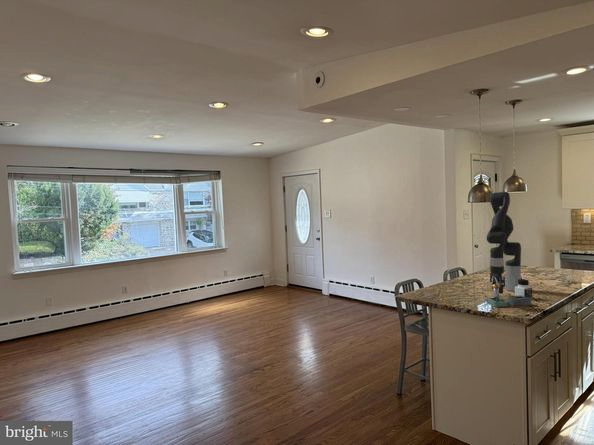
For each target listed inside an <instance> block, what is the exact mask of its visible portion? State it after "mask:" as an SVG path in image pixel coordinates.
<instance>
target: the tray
mask: <svg viewBox="0 0 594 445" xmlns="http://www.w3.org/2000/svg"><path fill="white" fill-rule="evenodd" d="M486 303H487V304H488V305H491V307H494V308H510V303H509V302H508V300H506V299H504V298H501V297H500V296H499V302H496V301H494V297H486Z"/></svg>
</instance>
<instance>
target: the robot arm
mask: <svg viewBox="0 0 594 445" xmlns="http://www.w3.org/2000/svg"><path fill="white" fill-rule="evenodd" d="M489 201H490V204H491V209H492V210H493V214H494V215H493V217H492V219H491V225H490V229H489V231H488V232H487V235H486V241H487V243H488V244H496V245H497V244H499V246H495V247H491V248H490V251H489V253H490V256H489V257H490V258H489V260H490V261H489V267H490V268H489V269H490V271H489V283H491V285H492V284H498V286H499V295H501V294H504V287H505V291H509V292H515V287H516V286H518V280H519V279H522V272H521V270H522V268H521V267H522V266H521V263H522V260H521V259H522V245H521V243H520V242H516V241H515V242H513V241H508V239H509V238H510V236H511V235H512V233H513V231H514V224H513V220H512V218H511V217H510V216H509V215H508V212H509V207H510V204H511V197H510V192H508V191H499V192H493V193H490V196H489ZM504 256H509V257H511V256H513V257H514V258H512V259H508V260H506V261H505V260H504ZM504 273H505V276H502V274H504ZM491 290H492V291H493V287H492V286H491Z"/></svg>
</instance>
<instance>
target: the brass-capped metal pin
mask: <svg viewBox="0 0 594 445" xmlns="http://www.w3.org/2000/svg"><path fill="white" fill-rule="evenodd" d="M492 287H493V290H492V291H493V292H492V293H493V296H492V298H494V301H496V302H499V297H500V293H499V286H498V284H497V283H496V284H491V288H492Z"/></svg>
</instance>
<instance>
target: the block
mask: <svg viewBox="0 0 594 445" xmlns="http://www.w3.org/2000/svg"><path fill="white" fill-rule="evenodd" d="M507 301H508V302H509V305H513V306H515V307H526V306H527V307H528V306H532V298H531V299H530V298H528V297H525V296H523V295H521V296H515V295H508V296H507Z"/></svg>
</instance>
